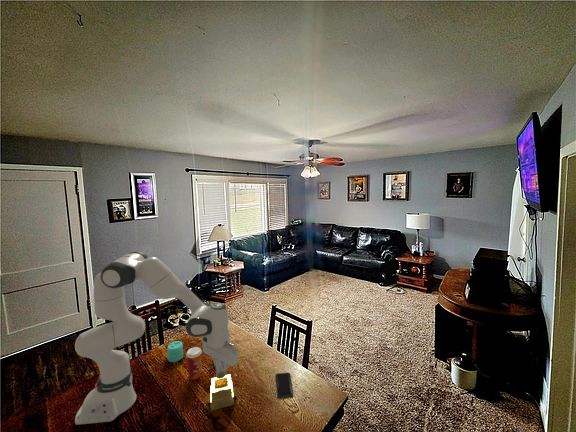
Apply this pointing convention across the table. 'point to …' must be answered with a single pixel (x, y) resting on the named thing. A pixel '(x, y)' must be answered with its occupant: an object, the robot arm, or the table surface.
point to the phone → (283, 385)
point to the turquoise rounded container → (175, 351)
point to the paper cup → (194, 362)
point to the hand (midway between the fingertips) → (220, 367)
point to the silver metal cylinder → (220, 369)
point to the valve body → (221, 393)
